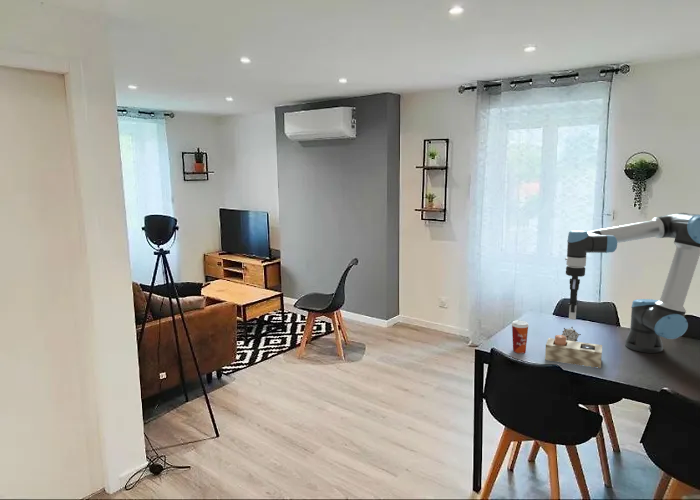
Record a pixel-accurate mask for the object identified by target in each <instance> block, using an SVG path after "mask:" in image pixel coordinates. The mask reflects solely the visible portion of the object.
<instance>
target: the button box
mask: <svg viewBox="0 0 700 500" xmlns="http://www.w3.org/2000/svg"><path fill="white" fill-rule="evenodd" d="M547 338H548V339H547V340H546V344H545V355H544V358H545V359H544V360H545V361H550V362H556V363H557V362H558V363H564V364H570V365H575V364H576V365H575V366H582V365H584V366H583V367H588V366H591V367H590V368H594V367H598V368H597V369H601V368H602V358H603V357H602V355H603V344H597V343H589V342H582V341H568V340H566V346H562V345H555V338H552V337H547ZM584 345H588V346H592V347H593V348H594V350H591V349H583V348H582V346H584Z"/></svg>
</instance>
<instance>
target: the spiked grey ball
mask: <svg viewBox="0 0 700 500" xmlns="http://www.w3.org/2000/svg"><path fill="white" fill-rule="evenodd" d="M561 335H563V336H566V340H568V341H576V342H579V341H578V338H579V336H581V333H579V332H577V331H576V329H574V328H573V326H571V327H570V328H565V327H563V330H562V334H561Z"/></svg>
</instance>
